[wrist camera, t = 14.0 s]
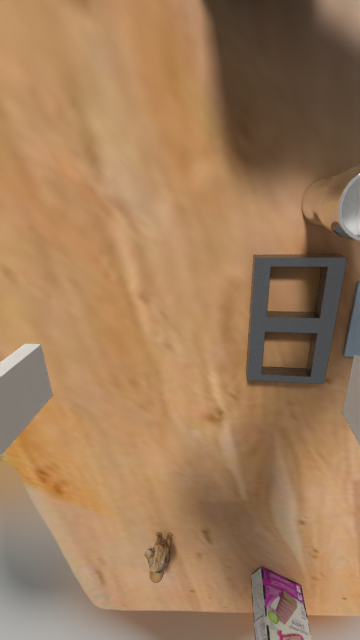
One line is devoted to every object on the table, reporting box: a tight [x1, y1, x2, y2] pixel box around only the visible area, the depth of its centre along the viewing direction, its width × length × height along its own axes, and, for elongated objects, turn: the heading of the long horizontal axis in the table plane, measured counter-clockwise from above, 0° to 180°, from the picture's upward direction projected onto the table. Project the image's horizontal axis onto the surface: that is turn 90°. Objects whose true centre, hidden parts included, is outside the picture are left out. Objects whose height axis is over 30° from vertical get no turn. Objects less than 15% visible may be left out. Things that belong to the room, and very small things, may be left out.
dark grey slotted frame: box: [246, 254, 347, 384], centre depth 46 cm, size 20×12×2 cm, turn 2°
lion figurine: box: [144, 532, 173, 583], centre depth 68 cm, size 15×5×9 cm, turn 179°
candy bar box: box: [251, 567, 312, 640], centre depth 64 cm, size 11×5×16 cm, turn 64°
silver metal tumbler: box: [302, 166, 360, 241], centre depth 34 cm, size 7×7×15 cm
